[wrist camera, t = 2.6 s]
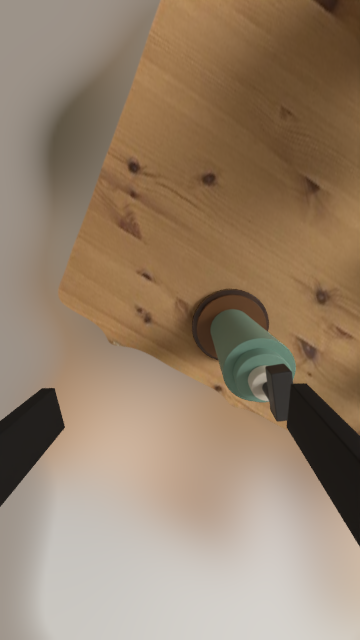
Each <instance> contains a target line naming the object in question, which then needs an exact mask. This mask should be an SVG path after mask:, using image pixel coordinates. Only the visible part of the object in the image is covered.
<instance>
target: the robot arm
mask: <svg viewBox="0 0 360 640" xmlns="http://www.w3.org/2000/svg"><path fill="white" fill-rule="evenodd" d="M64 428H65V426H64V423H63V419H62V415H61V411H60V407H59V404H58V400H57V396H56V392H55V389H54V388H42V389H41V390H39V391H38V392H37V393H36V394H34V395H33V396H32V397H30V398H29V399H28V400H27V401H25V402H24V403H23V404H22V405H20V406H19V407H18V408H16V409H15V410H14V411H13V412H11V413H10V414H9V415H7V416H6V417H5V418H4V419H2V420H1V421H0V506H1V505H2V504H3V503H4V501H5V500H6V499H7V498H8V497H9V495H10V494H11V493H12V492H13V490H14V489H15V488H16V487H17V486H18V484H19V483H20V482H21V481H22V479H23V478H24V477H25V476H26V475H27V473H28V472H29V471H30V470H31V468H32V467H33V466H34V465H35V464H36V462H37V461H38V460H39V459H40V457H41V456H42V455H43V454H44V452H45V451H46V450H47V449H48V447H49V446H50V445H51V444H52V443H53V441H54V440H55V439H56V438H57V436H58V435H59V434H60V433H61V431H62V430H63V429H64ZM287 428H288V430H289V432H290V433H291V435H292V437H293V438H294V440H295V441H296V443H297V445H298V446H299V448H300V450H301V451H302V453H303V455H304V456H305V458H306V459H307V461H308V463H309V464H310V466H311V468H312V469H313V471H314V472H315V474H316V476H317V477H318V479H319V481H320V482H321V484H322V485H323V487H324V489H325V491H326V492H327V494H328V495H329V497H330V499H331V500H332V502H333V504H334V505H335V507H336V508H337V510H338V512H339V513H340V515H341V517H342V518H343V520H344V522H345V523H346V525H347V526H348V528H349V530H350V531H351V533H352V535H353V536H354V538H355V540H356V541H357V543H358V544H359V546H360V436H359V435H358V434H357V433H356V432H355V431H354V430H353V429H352V428H351V427H350V426H349V425H348V424H347V423H346V422H345V421H344V420H343V419H342V418H341V417H340V416H339V415H338V414H337V413H336V412H335V411H334V410H333V409H332V408H331V407H330V406H329V405H328V404H327V403H326V402H325V401H324V400H323V399H322V398H321V397H320V396H318V395H317V394H316V393H315V392H314V391H313V390H312V389H311V388H310V387H309V386H308V385H307V384H291V388H290V398H289V409H288V419H287Z"/></svg>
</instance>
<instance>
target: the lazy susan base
mask: <svg viewBox="0 0 360 640" xmlns="http://www.w3.org/2000/svg"><path fill="white" fill-rule="evenodd" d="M224 295H241V296H244V297H247V298H249V299H251V300H252V301H254V302H255V303H256V304H257V305H258V306H259V307H260V308H261V310H262V311H263V313H264V315H265V318H266V326H267V327H266V331H267V332H268V328H269V320H268V315H267V312H266V309H265V308H264V306H263V304H262V303H261V302H260V301H259V300H258V299H257V298H256V297H255V296H253V295H252V294H249V293H247V292H245V291H242V290H237V289H225V290H220V291H217V292H215V293H213V294H211V295H209V296H208V297H206V298H205V299H204V300H203V301H202V302H201V303H200V305H199V306H198V308H197V309H196V311H195V314H194V317H193V323H192V330H193V336H194V339H195V341H196V343H197V345H198V347H199V348H200V349H201V350H202V351H203V352H204V353H205V354H206V355H208V356H210V357H211V358H214V359H216V360H218V358H216V357H214V356H212V355H210V354H209V353H208V352H207V351H206V350H205V349H204V348H203V347H202V345H201V344H200V342H199V339H198V336H197V321H198V318H199V316H200V313H201V312H202V310H203V309H204V308H205V306H206V305H207V304H208V303H210V302H211V301H212V300H214V299H216V298H218V297H221V296H224Z"/></svg>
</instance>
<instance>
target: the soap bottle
mask: <svg viewBox="0 0 360 640" xmlns="http://www.w3.org/2000/svg"><path fill="white" fill-rule="evenodd" d="M266 327H267V326H266V318H265V315H264V313H263V311H262V310H261V308H260V307H259V306H258V305H257V304H256V303H255V302H254V301H252V300H251V299H249V298H247V297H244V296H241V295H224V296H221V297H218V298H216V299H214V300H212V301H211V302H210V303H208V304H207V305H206V306H205V308H204V309H203V310H202V312H201V313H200V316H199V318H198V321H197V336H198V339H199V342H200V344H201V345H202V347H203V348H204V349H205V350H206V351H207V352H208V353H209V354H210V355H212V356H214V357H216V358H218V360H219V364H220V367H221V371H222V374H223V378H224V381H225V383H226V385H227V387H228V388H229V390H230V391H231V392H232V393H233V394H235V395H236V396H238V397H240V398H242V399H245V400H248V401H255V402H270V409H271V412H272V414H273V415H274V417H275V419H276V421H286V420H287V419H288V409H289V398H290V388H291V384H293V378H294V375H295V370H296V365H295V360H294V357H293V355H292V353H291V352H290V350H289V349H288V348H287V347H286V346H285V345H283V344H282V343H281V342H280V341H278V340H277V339H276V338H275V337H273V336H272V335H271V334H270V333H269V332H267V331H266Z"/></svg>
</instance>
